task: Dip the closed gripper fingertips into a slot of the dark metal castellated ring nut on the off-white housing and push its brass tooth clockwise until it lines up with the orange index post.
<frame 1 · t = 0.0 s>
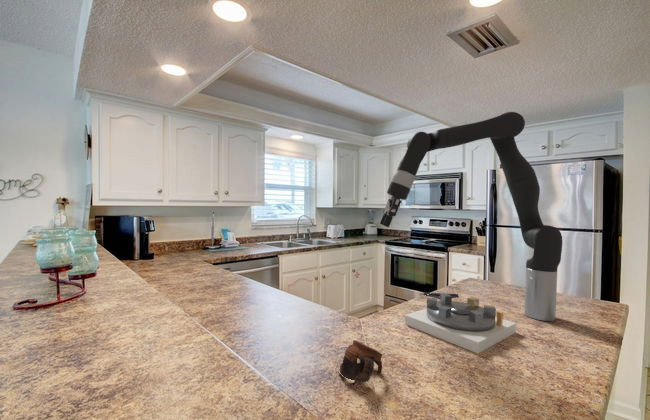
hand: (383, 225, 113), 31 cm above the countertop, tool tilted 20°, fingers open, 8 cm apart
pottery mug: (361, 377, 70), on the countertop
housing: (459, 328, 98), on the countertop
ring nut: (459, 310, 98), point 6 cm above the countertop, hinge at 0.0°
bracket: (444, 302, 127), on the countertop
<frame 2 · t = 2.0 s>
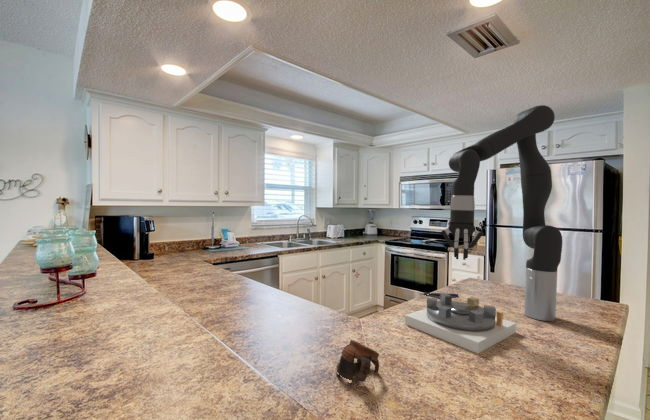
hand: (460, 258, 106), 21 cm above the countertop, tool pointing down, fingers closed
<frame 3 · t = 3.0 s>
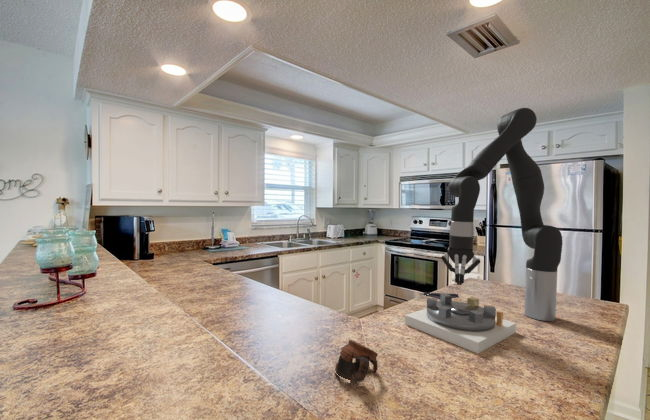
hand: (459, 284, 106), 12 cm above the countertop, tool pointing down, fingers closed
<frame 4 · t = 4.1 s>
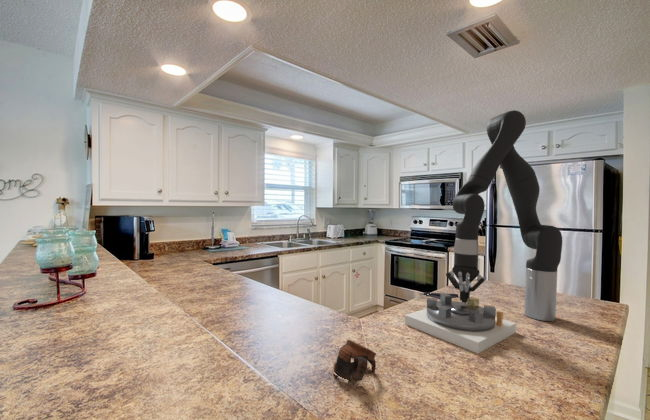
hand: (464, 301, 105), 6 cm above the countertop, tool pointing down, fingers closed
ring nut: (459, 310, 98), point 6 cm above the countertop, hinge at 0.0°, touching gripper
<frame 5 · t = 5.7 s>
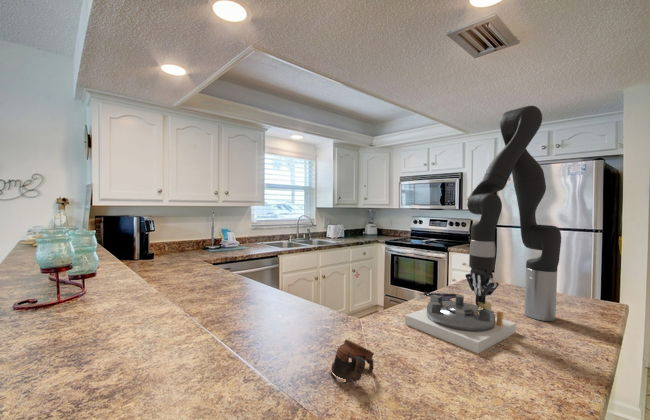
hand: (480, 306, 101), 6 cm above the countertop, tool pointing down, fingers closed
ring nut: (459, 310, 98), point 6 cm above the countertop, hinge at 30.6°, touching gripper
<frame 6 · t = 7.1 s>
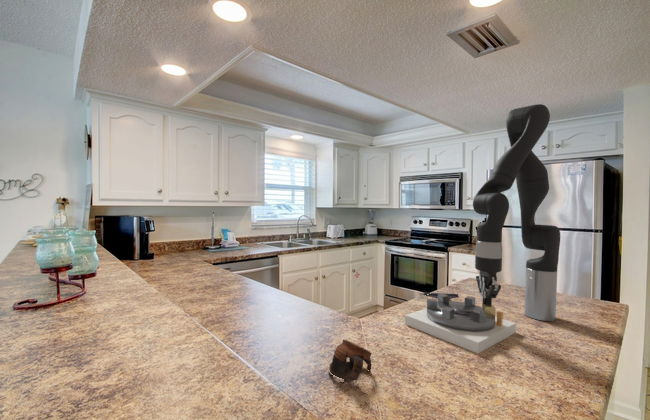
hand: (486, 309, 98), 6 cm above the countertop, tool pointing down, fingers closed
ring nut: (459, 310, 98), point 6 cm above the countertop, hinge at 52.9°, touching gripper
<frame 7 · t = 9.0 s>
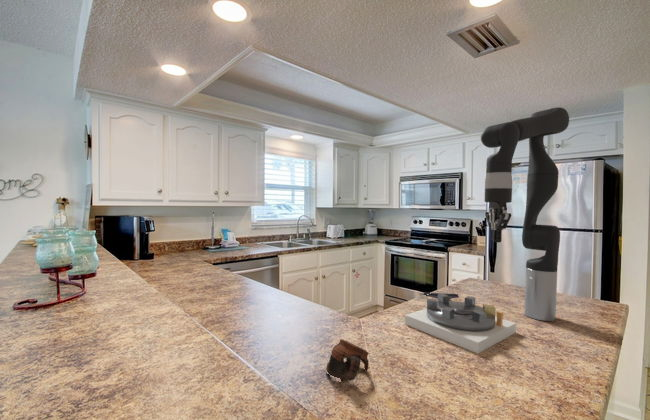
hand: (496, 241, 97), 28 cm above the countertop, tool pointing down, fingers closed
ring nut: (459, 310, 98), point 6 cm above the countertop, hinge at 52.9°
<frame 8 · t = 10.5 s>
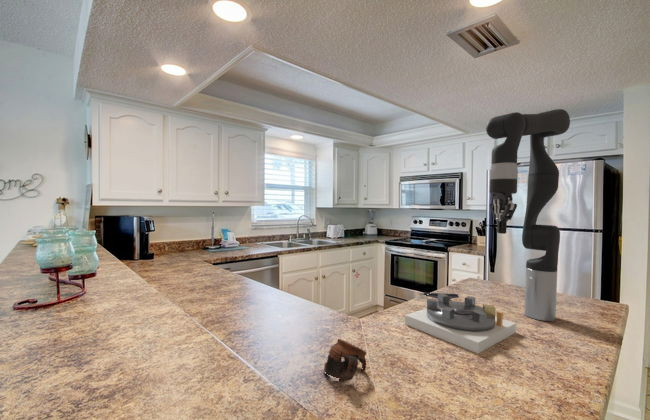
hand: (501, 233, 97), 31 cm above the countertop, tool pointing down, fingers closed
at the end: ring nut at +53° (first picture: +0°) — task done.
